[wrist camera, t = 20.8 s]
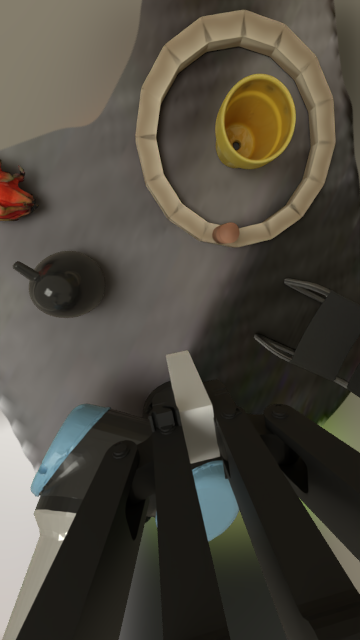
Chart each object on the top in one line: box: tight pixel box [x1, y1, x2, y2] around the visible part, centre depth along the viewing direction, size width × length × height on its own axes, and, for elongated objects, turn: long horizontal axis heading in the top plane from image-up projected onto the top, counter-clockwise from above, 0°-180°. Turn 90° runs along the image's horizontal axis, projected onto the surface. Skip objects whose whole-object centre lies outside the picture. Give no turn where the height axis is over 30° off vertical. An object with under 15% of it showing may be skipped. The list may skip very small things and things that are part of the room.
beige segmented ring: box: [135, 10, 335, 247], centre depth 41 cm, size 32×32×7 cm
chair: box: [254, 278, 360, 397], centre depth 44 cm, size 13×17×22 cm
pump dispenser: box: [13, 251, 105, 318], centre depth 39 cm, size 10×10×15 cm
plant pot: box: [215, 74, 296, 169], centre depth 40 cm, size 10×10×10 cm
